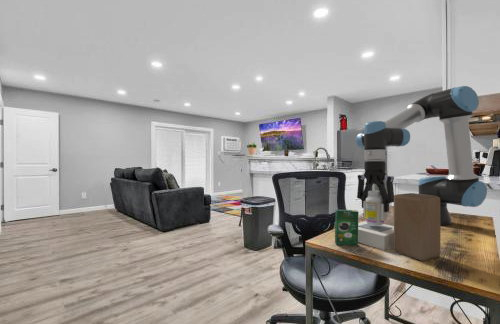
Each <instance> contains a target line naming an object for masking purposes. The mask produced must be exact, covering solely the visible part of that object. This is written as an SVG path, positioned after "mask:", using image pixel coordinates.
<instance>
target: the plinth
mask: <svg viewBox="0 0 500 324" xmlns="http://www.w3.org/2000/svg"><path fill="white" fill-rule="evenodd" d="M359 243H360V244H364V245H366V246H370V247H373V248H376V249H378V250H382V251H385V250H388V249H391V248H394V225H391V224H385V223H384V224H383V225H373V224H369V223H367V222H366V220H364V221H360V222H358V244H359Z"/></svg>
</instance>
